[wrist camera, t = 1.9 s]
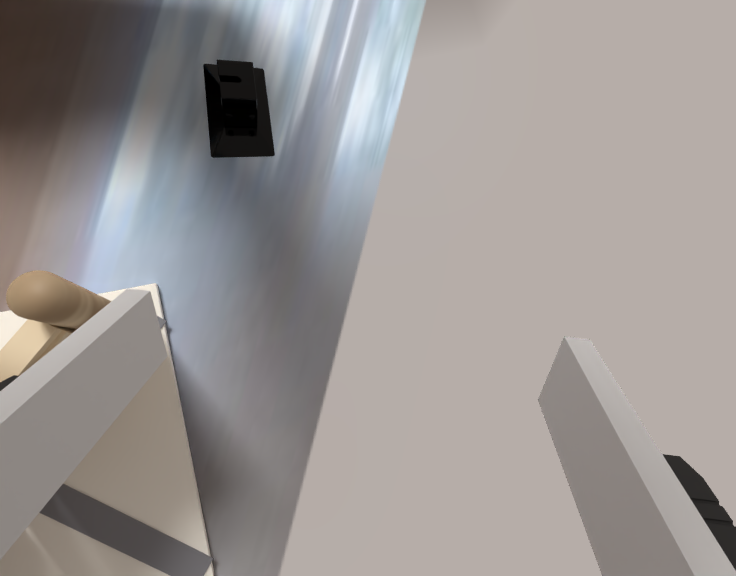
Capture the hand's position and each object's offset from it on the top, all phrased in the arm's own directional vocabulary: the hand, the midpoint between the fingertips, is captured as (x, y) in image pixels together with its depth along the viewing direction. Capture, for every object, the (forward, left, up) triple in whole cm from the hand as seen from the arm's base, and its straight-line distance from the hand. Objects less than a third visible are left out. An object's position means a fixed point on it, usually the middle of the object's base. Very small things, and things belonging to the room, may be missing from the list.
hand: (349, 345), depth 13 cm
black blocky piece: (-24, 0, -22) cm, 32 cm away
